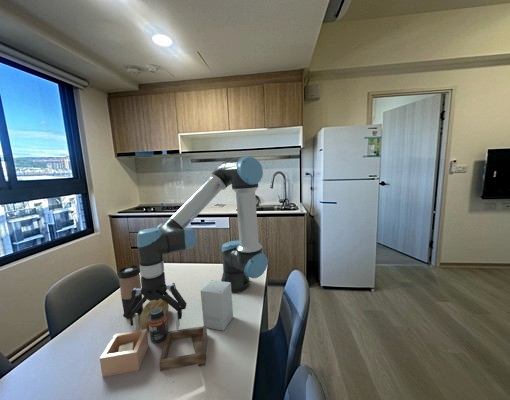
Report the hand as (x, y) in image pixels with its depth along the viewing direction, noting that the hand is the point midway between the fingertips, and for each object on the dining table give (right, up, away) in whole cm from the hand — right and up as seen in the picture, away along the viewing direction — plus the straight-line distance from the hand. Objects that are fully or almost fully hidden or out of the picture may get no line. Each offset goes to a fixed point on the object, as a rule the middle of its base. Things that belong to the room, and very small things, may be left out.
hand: (157, 330), depth 80 cm
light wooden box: (-6, -5, -9) cm, 12 cm away
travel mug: (-18, -3, +17) cm, 24 cm away
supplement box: (+20, -2, +9) cm, 22 cm away
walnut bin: (+12, -4, -6) cm, 14 cm away
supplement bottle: (0, -4, +1) cm, 4 cm away
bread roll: (-6, -3, +12) cm, 13 cm away
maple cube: (-6, -4, -9) cm, 11 cm away
